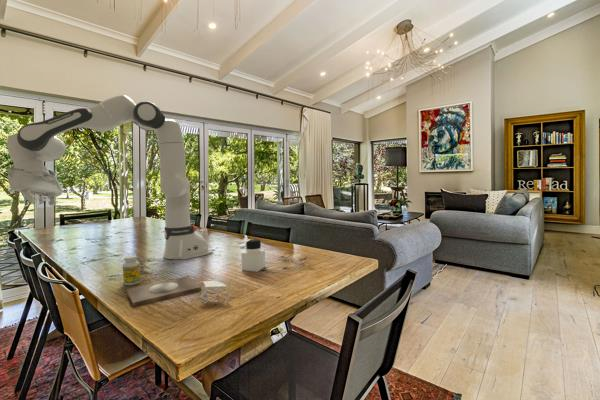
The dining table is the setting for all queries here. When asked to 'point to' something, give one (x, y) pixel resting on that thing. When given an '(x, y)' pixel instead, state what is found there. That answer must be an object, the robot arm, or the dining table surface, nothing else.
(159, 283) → the walnut board
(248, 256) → the medicine bottle
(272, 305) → the dining table surface
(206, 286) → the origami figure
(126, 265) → the supplement bottle
